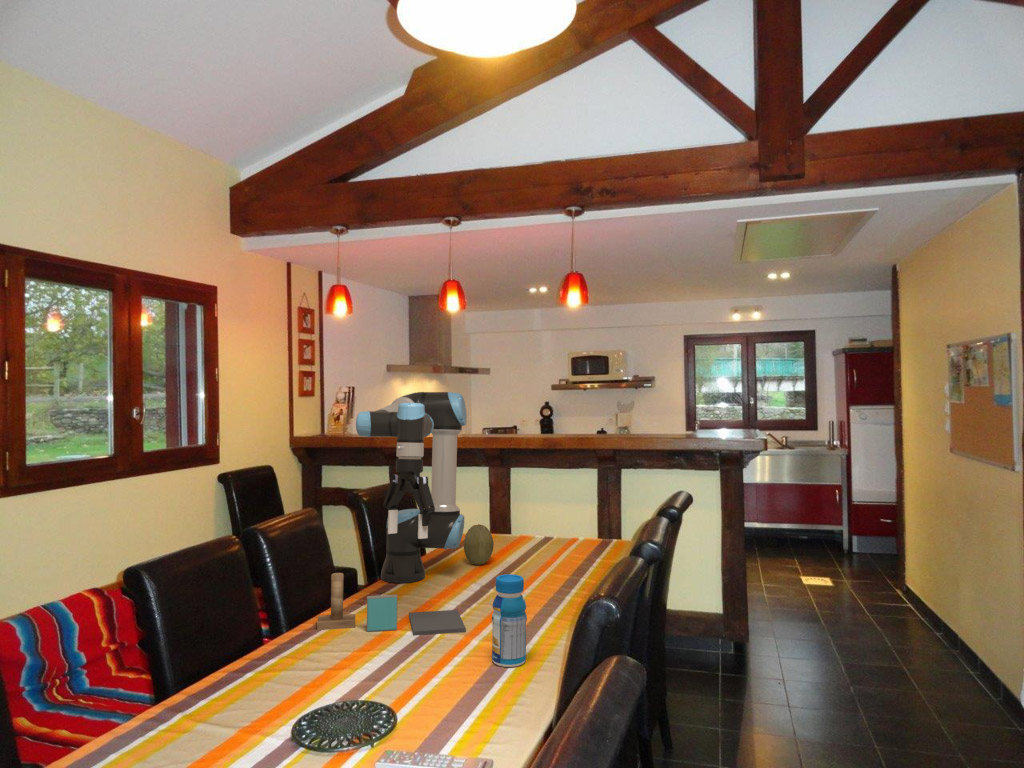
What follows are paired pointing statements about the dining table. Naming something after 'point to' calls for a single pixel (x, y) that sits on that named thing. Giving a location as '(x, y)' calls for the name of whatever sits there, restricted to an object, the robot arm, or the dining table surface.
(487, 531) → the fruit
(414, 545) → the robot arm
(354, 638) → the dining table surface
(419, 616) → the mat
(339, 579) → the tamper
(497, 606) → the beverage bottle
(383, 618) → the tile
